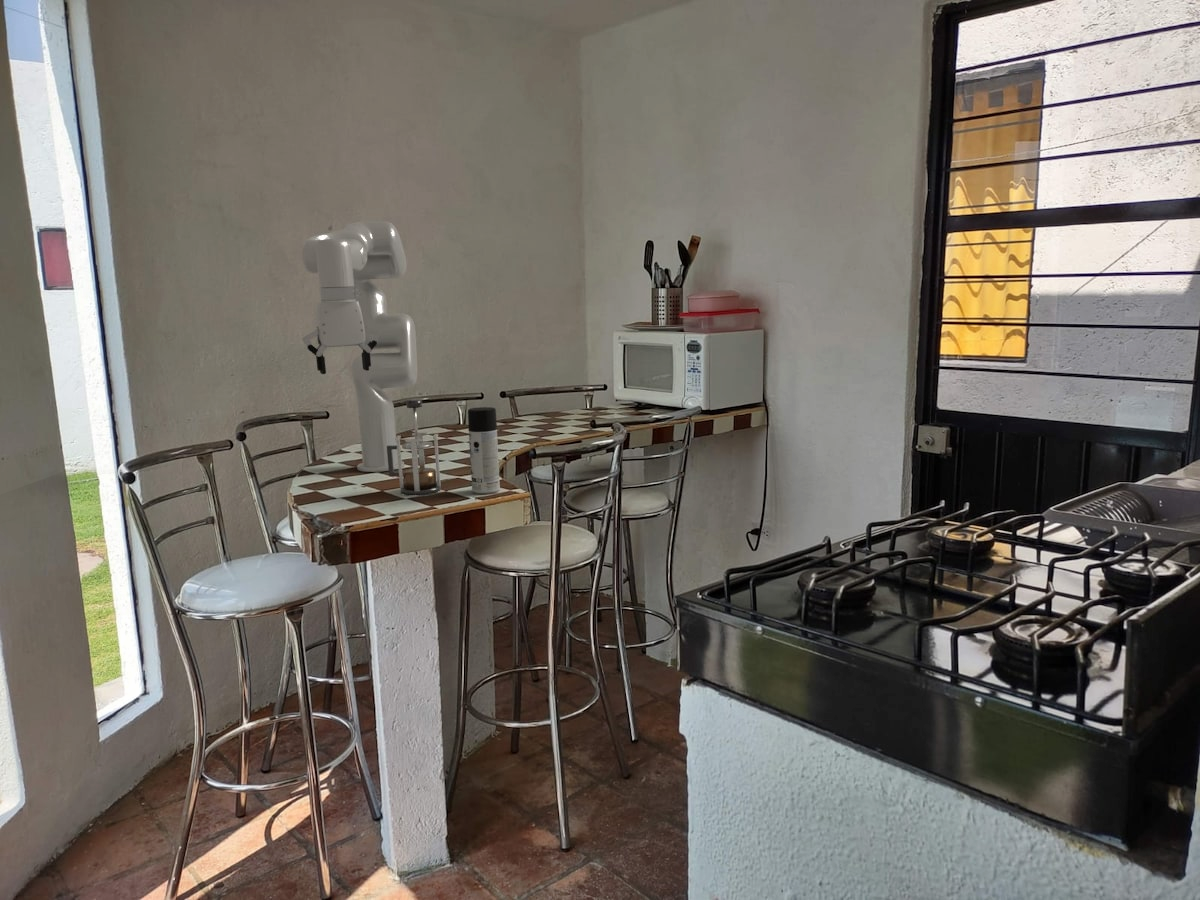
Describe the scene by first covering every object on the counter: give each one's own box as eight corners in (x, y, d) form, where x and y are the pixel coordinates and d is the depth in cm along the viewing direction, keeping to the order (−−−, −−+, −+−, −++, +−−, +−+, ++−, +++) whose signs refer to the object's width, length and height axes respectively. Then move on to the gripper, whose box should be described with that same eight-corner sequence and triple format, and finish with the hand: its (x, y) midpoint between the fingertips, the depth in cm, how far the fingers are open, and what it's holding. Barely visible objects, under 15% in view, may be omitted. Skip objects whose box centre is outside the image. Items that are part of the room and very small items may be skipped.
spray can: (474, 488, 212) (469, 407, 208) (502, 487, 212) (497, 406, 208) (469, 494, 205) (464, 411, 202) (498, 494, 205) (493, 410, 201)
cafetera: (394, 487, 216) (390, 433, 213) (443, 485, 216) (439, 431, 214) (387, 496, 206) (382, 440, 204) (437, 494, 207) (433, 438, 204)
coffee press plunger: (405, 444, 213) (401, 399, 210) (434, 443, 213) (431, 397, 211) (399, 449, 205) (395, 402, 203) (430, 448, 206) (426, 401, 204)
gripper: (372, 293, 201) (378, 367, 205) (294, 297, 194) (302, 373, 197) (380, 294, 195) (386, 370, 198) (300, 297, 187) (308, 376, 191)
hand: (344, 371), depth 198 cm, fingers open, 9 cm apart
